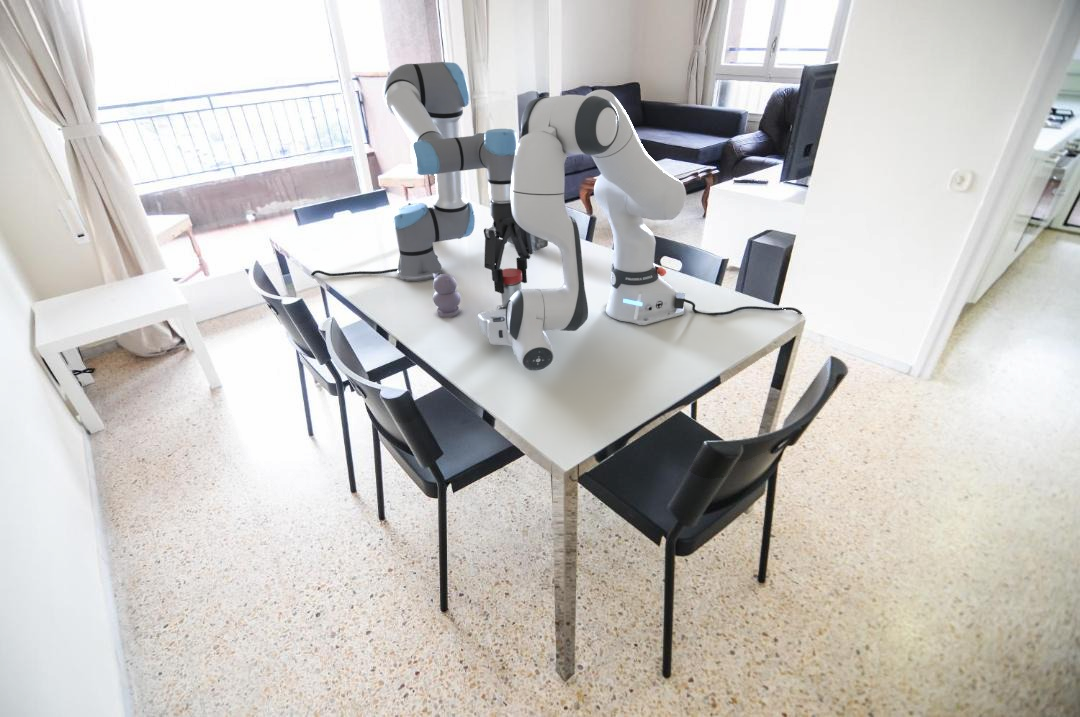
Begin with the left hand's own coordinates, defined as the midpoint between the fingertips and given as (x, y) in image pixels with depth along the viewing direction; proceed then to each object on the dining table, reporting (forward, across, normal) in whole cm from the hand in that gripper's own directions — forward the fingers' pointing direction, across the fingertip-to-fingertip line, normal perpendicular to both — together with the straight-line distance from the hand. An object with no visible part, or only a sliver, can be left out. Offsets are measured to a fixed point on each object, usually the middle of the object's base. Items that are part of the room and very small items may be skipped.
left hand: (511, 286), depth 132 cm
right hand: (+6, 0, -1) cm, 6 cm away
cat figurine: (+13, +5, -22) cm, 26 cm away
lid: (-4, 0, 0) cm, 4 cm away
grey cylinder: (+13, 0, 0) cm, 13 cm away
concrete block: (+13, -52, -45) cm, 70 cm away
